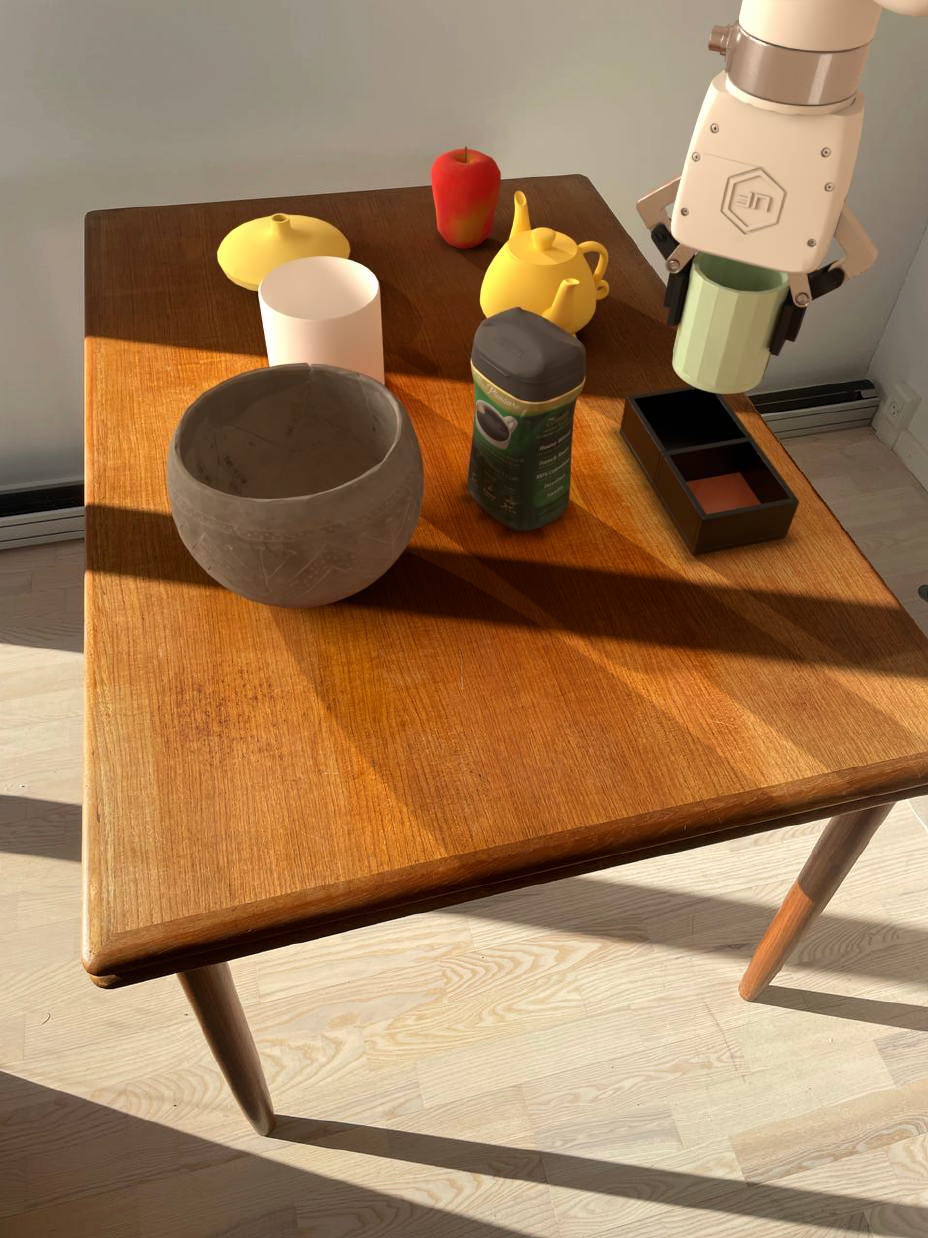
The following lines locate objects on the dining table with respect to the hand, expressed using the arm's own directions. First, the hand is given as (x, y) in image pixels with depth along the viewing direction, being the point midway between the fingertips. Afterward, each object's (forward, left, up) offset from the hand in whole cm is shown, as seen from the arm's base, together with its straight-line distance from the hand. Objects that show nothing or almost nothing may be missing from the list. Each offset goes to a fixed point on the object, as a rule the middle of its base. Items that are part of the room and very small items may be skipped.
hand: (727, 329), depth 70 cm
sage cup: (0, 0, -3) cm, 3 cm away
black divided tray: (+1, -11, -24) cm, 26 cm away
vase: (+57, -23, -24) cm, 66 cm away
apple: (+42, -41, -24) cm, 64 cm away
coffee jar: (+15, 0, -24) cm, 28 cm away
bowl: (+28, +16, -24) cm, 40 cm away
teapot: (+25, -28, -24) cm, 45 cm away
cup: (+40, -6, -24) cm, 47 cm away
